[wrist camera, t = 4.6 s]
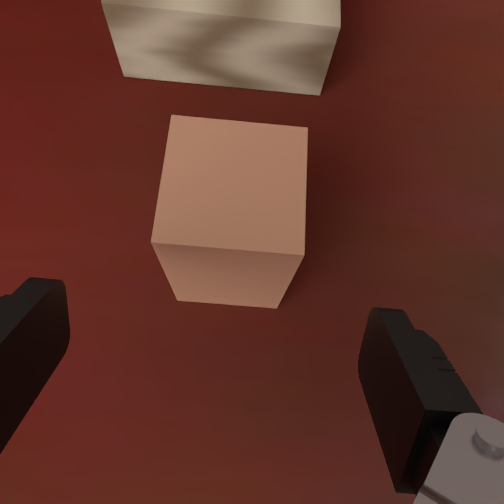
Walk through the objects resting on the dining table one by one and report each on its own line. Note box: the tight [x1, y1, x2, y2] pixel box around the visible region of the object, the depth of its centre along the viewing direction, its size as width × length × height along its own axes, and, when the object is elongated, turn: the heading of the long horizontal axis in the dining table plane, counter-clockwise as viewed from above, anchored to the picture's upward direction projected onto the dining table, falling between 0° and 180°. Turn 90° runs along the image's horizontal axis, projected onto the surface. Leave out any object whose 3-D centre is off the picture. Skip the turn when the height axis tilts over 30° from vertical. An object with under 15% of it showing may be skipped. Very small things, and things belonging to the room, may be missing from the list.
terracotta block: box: [151, 115, 308, 308], centre depth 18 cm, size 5×5×8 cm
